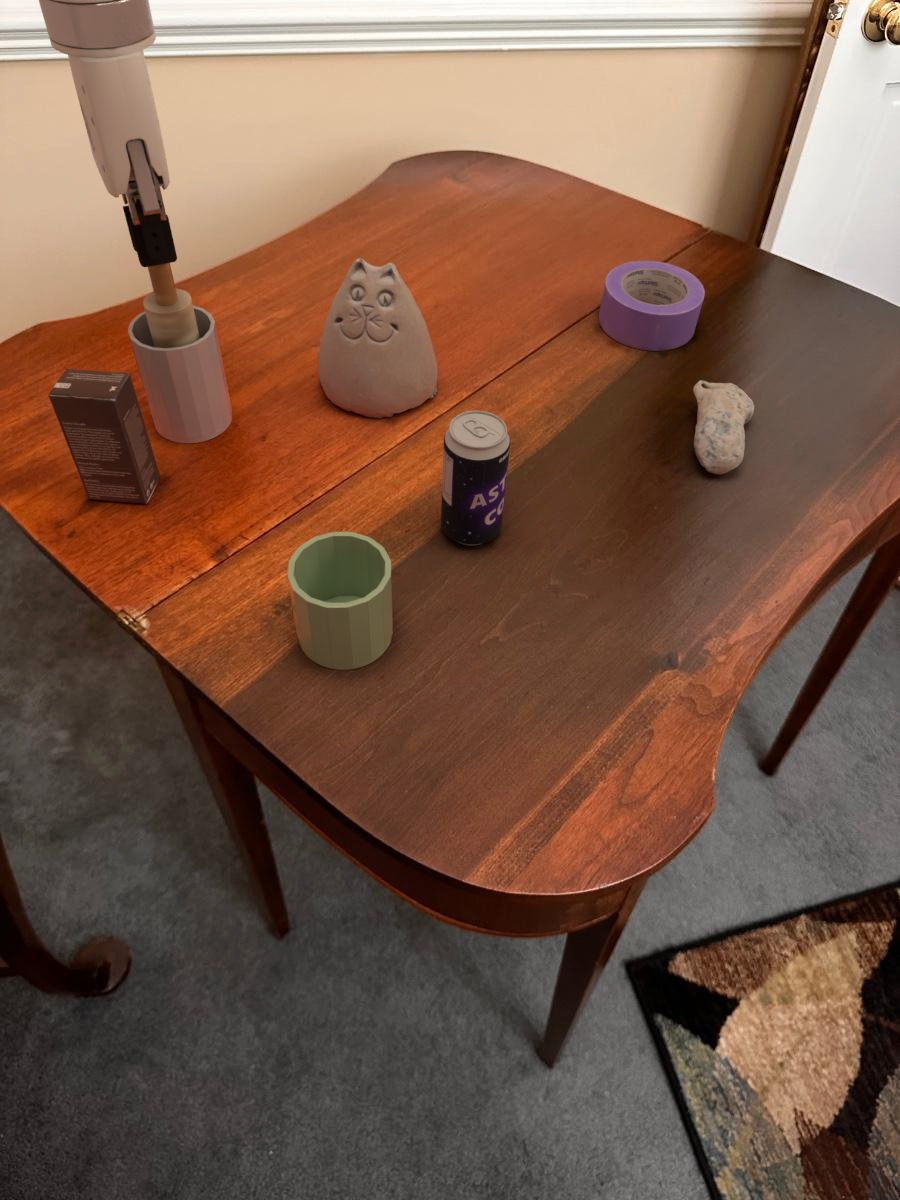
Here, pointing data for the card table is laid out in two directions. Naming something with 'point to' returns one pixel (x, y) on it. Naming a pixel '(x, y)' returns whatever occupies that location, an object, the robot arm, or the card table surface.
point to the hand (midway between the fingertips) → (155, 254)
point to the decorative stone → (721, 425)
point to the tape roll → (650, 305)
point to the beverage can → (474, 477)
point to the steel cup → (184, 382)
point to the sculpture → (376, 345)
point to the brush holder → (342, 599)
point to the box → (106, 435)
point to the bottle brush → (169, 310)
